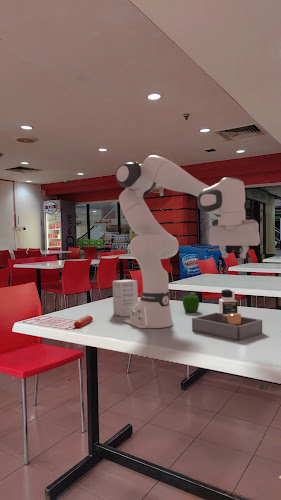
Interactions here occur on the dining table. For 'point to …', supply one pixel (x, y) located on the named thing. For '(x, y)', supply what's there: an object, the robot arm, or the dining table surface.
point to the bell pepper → (191, 303)
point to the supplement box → (124, 296)
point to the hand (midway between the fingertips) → (233, 257)
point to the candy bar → (83, 321)
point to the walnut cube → (224, 319)
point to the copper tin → (234, 319)
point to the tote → (226, 327)
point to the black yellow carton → (227, 302)
